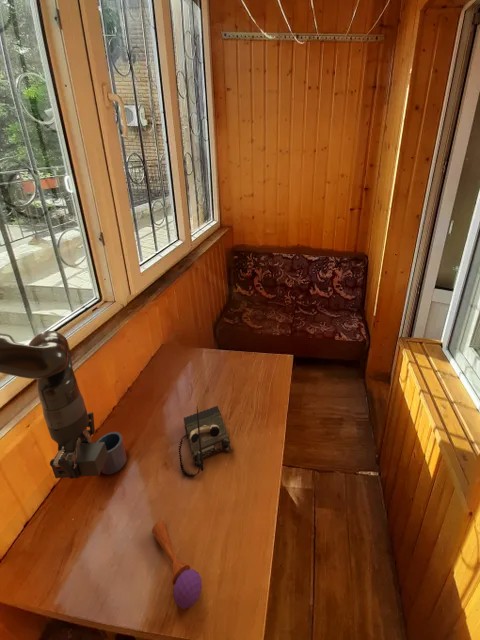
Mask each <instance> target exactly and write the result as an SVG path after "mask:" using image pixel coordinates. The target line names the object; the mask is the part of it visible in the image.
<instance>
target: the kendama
mask: <svg viewBox="0 0 480 640" xmlns="http://www.w3.org/2000/svg"><path fill="white" fill-rule="evenodd" d="M151 533H152V535H153V536H154V538H155V540H156V541H157V543H158V544H159V545H160V547H161V548H162V550H163V552H164V553H165V554H166V556H167V558H168V559H169V560H170V562H171V564H172V585H173V586H174V587H173V599H174V602H175V604H176V606H178V607H179V608H180V609H183V610H184V609H185V610H186V609H189V608H191V607H193V606H194V605H195V604H196V603H197V602H198V600H199V598H200V597H201V592H202V588H203V584H202V583H203V582H202V577H201V575H200V573H199V572H198V571H197V570H195V569H193V568H191V566H190V565H189V564H187V563H185V562H183V561H181V560H179V559H178V557H177V555H176V552H175V549H174V546H173V543H172V540H171V537H170V534H169V531H168V528H167V525H166V522H165V520H159V521H157V522H156V523H155V524H154V526H153V527H152V529H151Z"/></svg>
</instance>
